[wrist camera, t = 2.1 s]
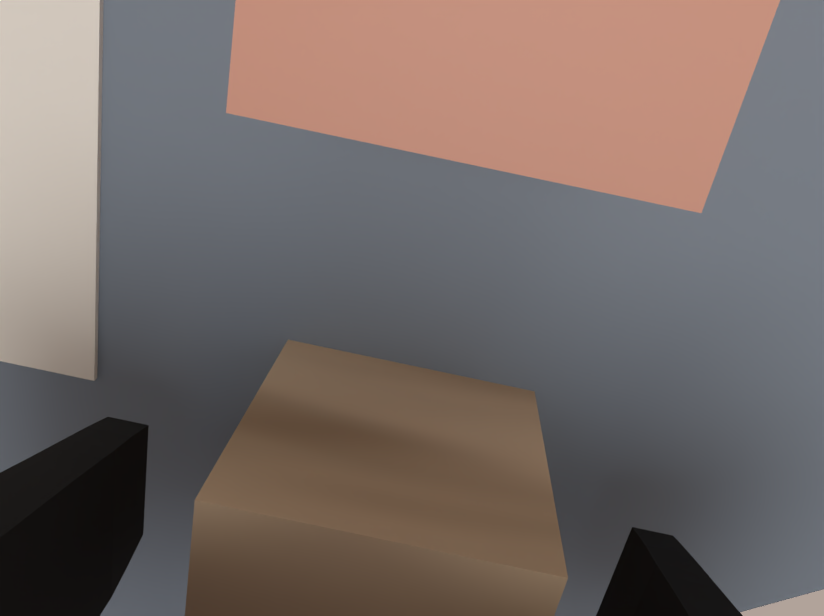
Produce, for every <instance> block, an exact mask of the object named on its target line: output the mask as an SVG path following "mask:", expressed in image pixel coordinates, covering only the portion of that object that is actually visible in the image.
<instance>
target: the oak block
mask: <svg viewBox="0 0 824 616" xmlns="http://www.w3.org/2000/svg"><path fill="white" fill-rule="evenodd" d="M567 580H568V575H567V569H566V564H565V558H564V553H563V547H562V541H561V536H560V530H559V525H558V519H557V514H556V508H555V502H554V497H553V491H552V486H551V480H550V475H549V469H548V464H547V458H546V452H545V447H544V441H543V436H542V430H541V425H540V419H539V413H538V408H537V402H536V397H535V391H530V390H525V389H521V388H516V387H511V386H506V385H502V384H497V383H492V382H487V381H483V380H478V379H473V378H468V377H464V376H459V375H454V374H449V373H445V372H440V371H435V370H430V369H426V368H421V367H416V366H411V365H407V364H402V363H397V362H392V361H388V360H383V359H378V358H373V357H369V356H364V355H359V354H354V353H350V352H345V351H340V350H335V349H331V348H326V347H321V346H316V345H312V344H307V343H302V342H297V341H293V340H287V342H286V344H285V346H284V347H283V349H282V351H281V352H280V354H279V356H278V358H277V359H276V361H275V363H274V364H273V366H272V368H271V370H270V371H269V373H268V375H267V376H266V378H265V380H264V382H263V383H262V385H261V387H260V389H259V390H258V392H257V394H256V395H255V397H254V399H253V401H252V402H251V404H250V406H249V407H248V409H247V411H246V413H245V414H244V416H243V418H242V419H241V421H240V423H239V425H238V426H237V428H236V430H235V431H234V433H233V435H232V437H231V438H230V440H229V442H228V444H227V445H226V447H225V449H224V450H223V452H222V454H221V456H220V457H219V459H218V461H217V462H216V464H215V466H214V468H213V469H212V471H211V473H210V474H209V476H208V478H207V480H206V481H205V483H204V485H203V486H202V488H201V490H200V492H199V493H198V495H197V497H196V499H195V502H194V514H193V525H192V537H191V548H190V560H189V572H188V583H187V595H186V606H185V616H554V615H555V612H556V609H557V607H558V604H559V601H560V599H561V596H562V593H563V591H564V588H565V585H566V582H567Z"/></svg>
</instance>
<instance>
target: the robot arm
mask: <svg viewBox="0 0 824 616" xmlns="http://www.w3.org/2000/svg"><path fill="white" fill-rule="evenodd" d="M148 427H149V425H145V424H141V423H136V422H131V421H126V420H122V419H117V418H112V417H106V418H104V419H102V420H100V421H98V422H96V423H94V424H92V425H90V426H88V427H86V428H84V429H82V430H80V431H78V432H76V433H74V434H73V435H71V436H69V437H67V438H65V439H63V440H61V441H59V442H58V443H56V444H54V445H52V446H50V447H48V448H46V449H44V450H43V451H41V452H39V453H37V454H35V455H33V456H31V457H29V458H27V459H26V460H24V461H22V462H20V463H18V464H16V465H14V466H12V467H10V468H8V469H6V470H4V471H2V472H0V616H100V615H101V613H102V611H103V610H104V608H105V607H106V605H107V604H108V602H109V601H110V599H111V597H112V595H113V594H114V592H115V590H116V588H117V586H118V584H119V582H120V580H121V578H122V576H123V574H124V572H125V570H126V569H127V566H128V564H129V562H130V560H131V558H132V556H133V554H134V552H135V550H136V548H137V546H138V544H139V542H140V540H141V538H142V536H143V529H144V509H145V489H146V468H147V448H148ZM596 616H742V614H741V613H740V612H739V611H738V610H737V609H736V607H735V606H734V605H733V604H732V603H731V601H730V600H729V599H728V598H727V597H726V596H725V594H724V593H723V592H722V591H721V590H720V588H719V587H718V586H717V585H716V584H715V583H714V581H713V580H712V579H711V578H710V577H709V575H708V574H707V573H706V572H705V571H704V570H703V568H702V567H701V566H700V565H699V564H698V563H697V561H696V560H695V559H694V558H693V557H692V556H691V555H690V553H689V552H688V551H687V550H686V549H685V548H684V547H683V546H682V544H681V543H680V542H679V541H678V540H677V539H676V538H675V537H674V536H673V535H668V534H663V533H658V532H654V531H649V530H644V529H639V528H635V527H632V529H631V531H630V533H629V536H628V538H627V541H626V543H625V546H624V548H623V551H622V553H621V556H620V558H619V561H618V563H617V565H616V568H615V570H614V573H613V575H612V578H611V580H610V583H609V585H608V588H607V590H606V592H605V595H604V597H603V600H602V602H601V605H600V607H599V610H598V612H597V615H596Z"/></svg>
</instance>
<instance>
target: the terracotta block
mask: <svg viewBox="0 0 824 616" xmlns="http://www.w3.org/2000/svg"><path fill="white" fill-rule="evenodd" d="M779 2H780V0H236V1H235V13H234V25H233V37H232V48H231V60H230V72H229V84H228V95H227V107H226V113H229V114H234V115H238V116H243V117H248V118H253V119H257V120H262V121H267V122H271V123H276V124H281V125H286V126H290V127H295V128H300V129H305V130H309V131H314V132H319V133H324V134H328V135H333V136H338V137H343V138H347V139H352V140H357V141H361V142H366V143H371V144H376V145H380V146H385V147H390V148H395V149H399V150H404V151H409V152H414V153H418V154H423V155H428V156H433V157H437V158H442V159H447V160H451V161H456V162H461V163H466V164H470V165H475V166H480V167H485V168H489V169H494V170H499V171H504V172H508V173H513V174H518V175H523V176H527V177H532V178H537V179H541V180H546V181H551V182H556V183H560V184H565V185H570V186H575V187H579V188H584V189H589V190H594V191H598V192H603V193H608V194H612V195H617V196H622V197H627V198H631V199H636V200H641V201H646V202H650V203H655V204H660V205H665V206H669V207H674V208H679V209H684V210H688V211H693V212H698V213H702V210H703V207H704V205H705V202H706V199H707V197H708V194H709V191H710V189H711V186H712V183H713V180H714V178H715V175H716V172H717V170H718V167H719V164H720V161H721V159H722V156H723V153H724V151H725V148H726V145H727V143H728V140H729V137H730V134H731V132H732V129H733V126H734V124H735V121H736V118H737V116H738V113H739V110H740V107H741V105H742V102H743V99H744V97H745V94H746V91H747V89H748V86H749V83H750V80H751V78H752V75H753V72H754V70H755V67H756V64H757V62H758V59H759V56H760V53H761V51H762V48H763V45H764V43H765V40H766V37H767V35H768V32H769V29H770V26H771V24H772V21H773V18H774V16H775V13H776V10H777V7H778V5H779Z"/></svg>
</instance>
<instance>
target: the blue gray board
mask: <svg viewBox="0 0 824 616" xmlns="http://www.w3.org/2000/svg"><path fill="white" fill-rule="evenodd" d="M235 1H236V0H0V472H2V471H4V470H6V469H8V468H10V467H12V466H14V465H16V464H18V463H20V462H22V461H24V460H26V459H27V458H29V457H31V456H33V455H35V454H37V453H39V452H41V451H43V450H44V449H46V448H48V447H50V446H52V445H54V444H56V443H58V442H59V441H61V440H63V439H65V438H67V437H69V436H71V435H73V434H74V433H76V432H78V431H80V430H82V429H84V428H86V427H88V426H90V425H92V424H94V423H96V422H98V421H100V420H102V419H104V418H106V417H112V418H117V419H122V420H126V421H131V422H136V423H141V424H145V425H149V427H148V448H147V468H146V489H145V509H144V529H143V536H142V538H141V540H140V542H139V544H138V546H137V548H136V550H135V552H134V554H133V556H132V558H131V560H130V562H129V564H128V566H127V569H126V570H125V572H124V574H123V576H122V578H121V580H120V582H119V584H118V586H117V588H116V590H115V592H114V594H113V595H112V597H111V599H110V601H109V602H108V604H107V605H106V607H105V608H104V610H103V611H102V613H101V615H100V616H185V606H186V595H187V583H188V572H189V560H190V548H191V537H192V525H193V514H194V502H195V499H196V497H197V495H198V493H199V492H200V490H201V488H202V486H203V485H204V483H205V481H206V480H207V478H208V476H209V474H210V473H211V471H212V469H213V468H214V466H215V464H216V462H217V461H218V459H219V457H220V456H221V454H222V452H223V450H224V449H225V447H226V445H227V444H228V442H229V440H230V438H231V437H232V435H233V433H234V431H235V430H236V428H237V426H238V425H239V423H240V421H241V419H242V418H243V416H244V414H245V413H246V411H247V409H248V407H249V406H250V404H251V402H252V401H253V399H254V397H255V395H256V394H257V392H258V390H259V389H260V387H261V385H262V383H263V382H264V380H265V378H266V376H267V375H268V373H269V371H270V370H271V368H272V366H273V364H274V363H275V361H276V359H277V358H278V356H279V354H280V352H281V351H282V349H283V347H284V346H285V344H286V342H287V340H293V341H297V342H302V343H307V344H312V345H316V346H321V347H326V348H331V349H335V350H340V351H345V352H350V353H354V354H359V355H364V356H369V357H373V358H378V359H383V360H388V361H392V362H397V363H402V364H407V365H411V366H416V367H421V368H426V369H430V370H435V371H440V372H445V373H449V374H454V375H459V376H464V377H468V378H473V379H478V380H483V381H487V382H492V383H497V384H502V385H506V386H511V387H516V388H521V389H525V390H530V391H535V397H536V402H537V408H538V413H539V419H540V425H541V430H542V436H543V441H544V447H545V452H546V458H547V464H548V469H549V475H550V480H551V486H552V491H553V497H554V502H555V508H556V514H557V519H558V525H559V530H560V536H561V541H562V547H563V553H564V558H565V564H566V569H567V575H568V580H567V582H566V585H565V588H564V591H563V593H562V596H561V599H560V601H559V604H558V607H557V609H556V612H555V615H554V616H596V615H597V612H598V610H599V607H600V605H601V602H602V600H603V597H604V595H605V592H606V590H607V588H608V585H609V583H610V580H611V578H612V575H613V573H614V570H615V568H616V565H617V563H618V561H619V558H620V556H621V553H622V551H623V548H624V546H625V543H626V541H627V538H628V536H629V533H630V531H631V529H632V527H635V528H639V529H644V530H649V531H654V532H658V533H663V534H668V535H673V536H674V537H675V538H676V539H677V540H678V541H679V542H680V543H681V544H682V546H683V547H684V548H685V549H686V550H687V551H688V552H689V553H690V555H691V556H692V557H693V558H694V559H695V560H696V561H697V563H698V564H699V565H700V566H701V567H702V568H703V570H704V571H705V572H706V573H707V574H708V575H709V577H710V578H711V579H712V580H713V581H714V583H715V584H716V585H717V586H718V587H719V588H720V590H721V591H722V592H723V593H724V594H725V596H726V597H727V598H728V599H729V600H730V601H731V603H732V604H733V605H734V606H735V607H736V609H737V610H738V611H739V612H742V611H746V610H749V609H753V608H756V607H760V606H764V605H768V604H771V603H775V602H779V601H782V600H786V599H789V598H793V597H797V596H800V595H804V594H808V593H811V592H815V591H819V590H822V589H824V0H780V2H779V5H778V7H777V10H776V13H775V16H774V18H773V21H772V24H771V26H770V29H769V32H768V35H767V37H766V40H765V43H764V45H763V48H762V51H761V53H760V56H759V59H758V62H757V64H756V67H755V70H754V72H753V75H752V78H751V80H750V83H749V86H748V89H747V91H746V94H745V97H744V99H743V102H742V105H741V107H740V110H739V113H738V116H737V118H736V121H735V124H734V126H733V129H732V132H731V134H730V137H729V140H728V143H727V145H726V148H725V151H724V153H723V156H722V159H721V161H720V164H719V167H718V170H717V172H716V175H715V178H714V180H713V183H712V186H711V189H710V191H709V194H708V197H707V199H706V202H705V205H704V207H703V210H702V213H698V212H693V211H688V210H684V209H679V208H674V207H669V206H665V205H660V204H655V203H650V202H646V201H641V200H636V199H631V198H627V197H622V196H617V195H612V194H608V193H603V192H598V191H594V190H589V189H584V188H579V187H575V186H570V185H565V184H560V183H556V182H551V181H546V180H541V179H537V178H532V177H527V176H523V175H518V174H513V173H508V172H504V171H499V170H494V169H489V168H485V167H480V166H475V165H470V164H466V163H461V162H456V161H451V160H447V159H442V158H437V157H433V156H428V155H423V154H418V153H414V152H409V151H404V150H399V149H395V148H390V147H385V146H380V145H376V144H371V143H366V142H361V141H357V140H352V139H347V138H343V137H338V136H333V135H328V134H324V133H319V132H314V131H309V130H305V129H300V128H295V127H290V126H286V125H281V124H276V123H271V122H267V121H262V120H257V119H253V118H248V117H243V116H238V115H234V114H229V113H226V107H227V95H228V84H229V72H230V60H231V48H232V37H233V25H234V13H235Z"/></svg>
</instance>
